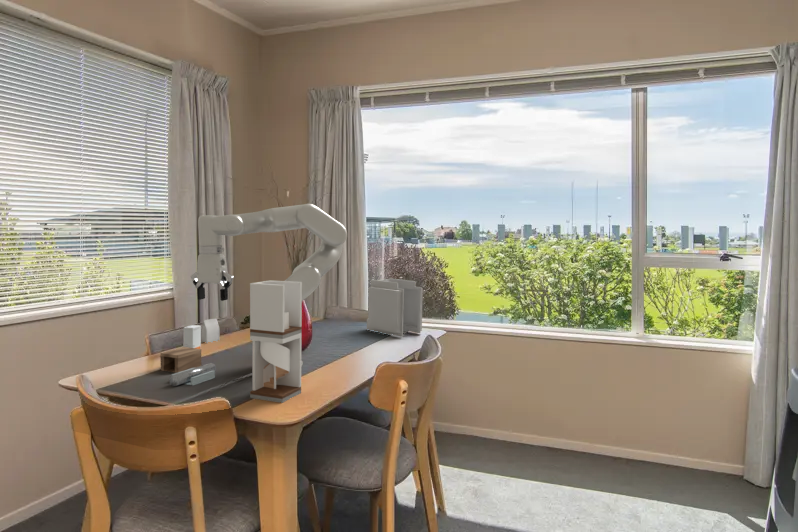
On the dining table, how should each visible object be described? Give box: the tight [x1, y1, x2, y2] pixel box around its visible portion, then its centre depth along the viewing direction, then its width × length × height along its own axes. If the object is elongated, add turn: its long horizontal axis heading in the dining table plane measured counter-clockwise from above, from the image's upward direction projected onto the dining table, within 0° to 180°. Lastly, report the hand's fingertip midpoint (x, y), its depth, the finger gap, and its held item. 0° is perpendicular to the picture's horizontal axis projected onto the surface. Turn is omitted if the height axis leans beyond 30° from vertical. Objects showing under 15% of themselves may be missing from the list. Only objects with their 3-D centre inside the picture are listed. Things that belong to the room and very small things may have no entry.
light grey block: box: [201, 318, 220, 344], centre depth 247 cm, size 4×7×10 cm, turn 146°
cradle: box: [171, 368, 216, 386], centre depth 181 cm, size 9×10×4 cm
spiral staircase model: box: [249, 280, 303, 404], centre depth 170 cm, size 11×11×35 cm
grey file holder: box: [366, 277, 424, 337], centre depth 274 cm, size 17×27×26 cm, turn 44°
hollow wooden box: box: [159, 346, 202, 374], centre depth 196 cm, size 8×11×8 cm
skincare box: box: [182, 324, 202, 350], centre depth 219 cm, size 6×4×12 cm
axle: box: [168, 362, 217, 387], centre depth 181 cm, size 17×4×4 cm, turn 157°
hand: (212, 299), depth 194 cm, fingers open, 9 cm apart
